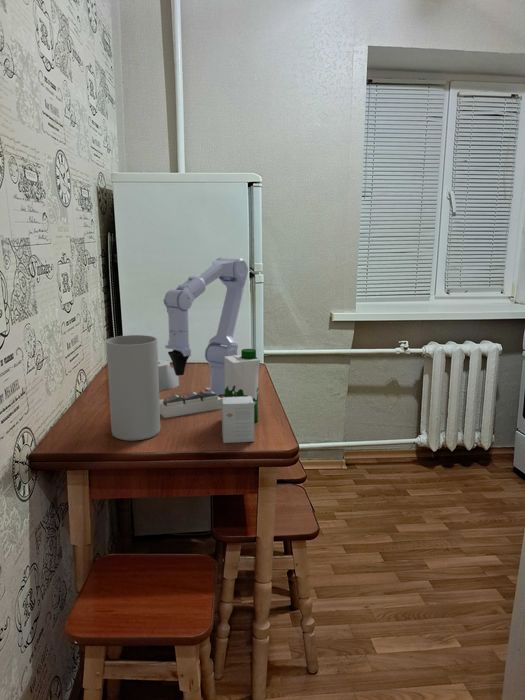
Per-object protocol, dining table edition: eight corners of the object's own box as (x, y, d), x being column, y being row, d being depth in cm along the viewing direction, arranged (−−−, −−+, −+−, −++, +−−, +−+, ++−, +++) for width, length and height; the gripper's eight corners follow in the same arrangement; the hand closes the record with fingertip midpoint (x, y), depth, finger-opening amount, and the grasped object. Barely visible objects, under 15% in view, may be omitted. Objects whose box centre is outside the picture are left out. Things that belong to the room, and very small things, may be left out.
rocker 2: (196, 395, 155) (195, 391, 154) (199, 398, 152) (198, 393, 152) (182, 400, 153) (181, 396, 152) (186, 403, 151) (185, 398, 150)
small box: (252, 433, 136) (252, 395, 134) (254, 442, 131) (254, 402, 129) (221, 435, 135) (221, 396, 133) (222, 443, 130) (222, 403, 128)
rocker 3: (212, 396, 157) (213, 391, 157) (216, 398, 155) (217, 393, 155) (199, 395, 155) (200, 390, 155) (202, 397, 153) (203, 392, 153)
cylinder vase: (162, 439, 132) (159, 343, 127) (112, 444, 129) (106, 346, 123) (158, 422, 144) (154, 334, 138) (111, 426, 140) (106, 336, 135)
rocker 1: (178, 398, 152) (177, 393, 152) (182, 400, 150) (181, 396, 149) (164, 403, 150) (163, 398, 150) (167, 406, 148) (166, 401, 147)
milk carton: (262, 422, 144) (262, 352, 140) (231, 426, 141) (231, 355, 137) (250, 412, 152) (250, 346, 148) (221, 416, 149) (220, 348, 144)
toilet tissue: (185, 385, 179) (184, 361, 177) (151, 393, 170) (150, 368, 168) (170, 380, 185) (169, 356, 183) (137, 387, 176) (136, 362, 174)
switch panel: (223, 399, 164) (223, 387, 163) (234, 406, 157) (234, 393, 157) (155, 409, 154) (155, 397, 153) (164, 418, 147) (163, 404, 146)
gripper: (158, 327, 157) (159, 370, 160) (173, 335, 144) (174, 382, 147) (180, 325, 160) (181, 368, 163) (197, 333, 148) (197, 379, 150)
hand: (179, 374), depth 155 cm, fingers closed
